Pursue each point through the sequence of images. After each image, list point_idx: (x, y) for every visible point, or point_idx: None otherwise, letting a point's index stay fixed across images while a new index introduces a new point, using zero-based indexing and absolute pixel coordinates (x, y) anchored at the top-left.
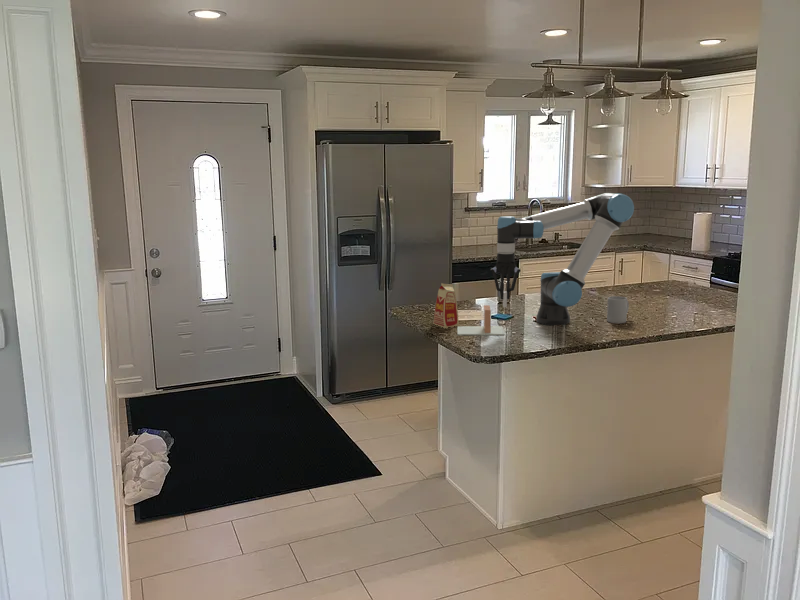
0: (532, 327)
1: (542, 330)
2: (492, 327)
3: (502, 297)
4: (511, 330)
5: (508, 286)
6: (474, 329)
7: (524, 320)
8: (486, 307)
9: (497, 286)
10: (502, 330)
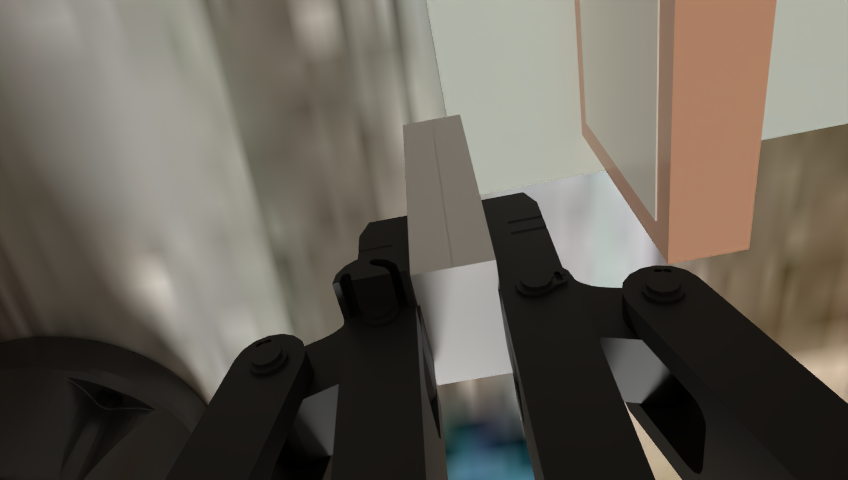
0: (186, 243)
1: (54, 153)
2: (552, 132)
3: (501, 217)
4: (355, 97)
5: (376, 405)
6: None
7: None
8: (728, 121)
9: (719, 343)
10: (439, 21)
